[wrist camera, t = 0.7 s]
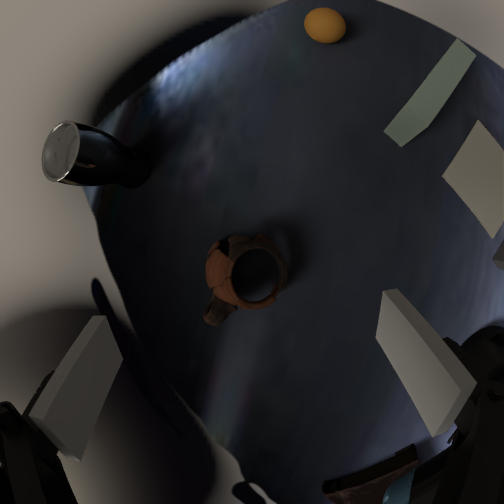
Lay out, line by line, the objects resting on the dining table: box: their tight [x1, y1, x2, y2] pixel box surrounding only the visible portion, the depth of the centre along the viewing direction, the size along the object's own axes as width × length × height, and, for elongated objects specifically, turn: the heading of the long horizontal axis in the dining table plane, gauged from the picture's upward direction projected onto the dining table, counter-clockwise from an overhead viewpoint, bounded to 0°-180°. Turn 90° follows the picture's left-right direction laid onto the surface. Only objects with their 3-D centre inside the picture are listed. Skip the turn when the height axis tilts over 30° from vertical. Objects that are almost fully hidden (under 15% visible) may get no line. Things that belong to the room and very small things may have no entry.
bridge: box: [384, 39, 476, 147], centre depth 25 cm, size 3×14×9 cm, turn 140°
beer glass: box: [42, 121, 151, 189], centre depth 30 cm, size 7×7×15 cm
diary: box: [322, 443, 422, 504], centre depth 34 cm, size 19×25×5 cm
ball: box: [304, 8, 346, 43], centre depth 28 cm, size 6×6×6 cm
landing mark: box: [442, 120, 504, 239], centre depth 28 cm, size 12×12×1 cm
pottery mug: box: [203, 233, 288, 326], centre depth 34 cm, size 12×10×8 cm
